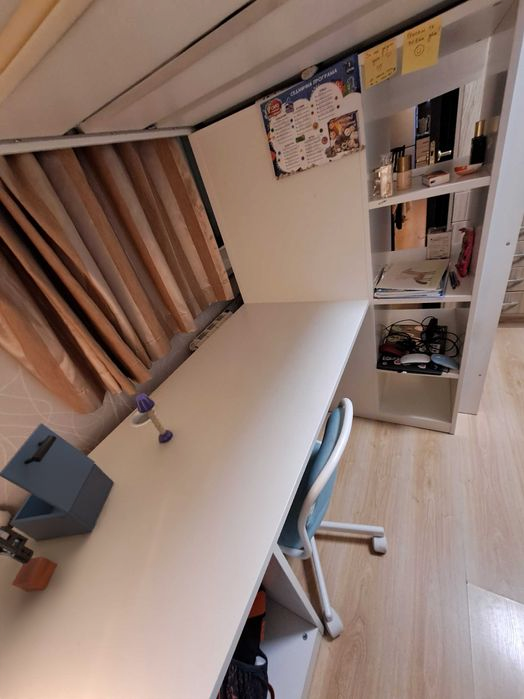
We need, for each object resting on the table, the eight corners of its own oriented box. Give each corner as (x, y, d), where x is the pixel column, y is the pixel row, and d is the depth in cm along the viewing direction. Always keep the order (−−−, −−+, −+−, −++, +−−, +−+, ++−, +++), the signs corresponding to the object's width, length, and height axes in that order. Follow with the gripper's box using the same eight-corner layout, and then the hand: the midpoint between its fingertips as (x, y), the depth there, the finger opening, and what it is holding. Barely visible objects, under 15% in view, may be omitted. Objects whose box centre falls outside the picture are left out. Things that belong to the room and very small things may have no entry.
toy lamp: (163, 430, 90) (136, 392, 81) (176, 429, 89) (150, 390, 80) (157, 443, 86) (128, 404, 77) (170, 442, 85) (142, 403, 76)
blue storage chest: (35, 540, 71) (9, 524, 66) (64, 491, 81) (43, 473, 76) (91, 532, 68) (68, 514, 64) (113, 482, 79) (95, 463, 74)
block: (26, 592, 61) (11, 584, 59) (40, 567, 65) (25, 558, 62) (44, 589, 60) (29, 582, 58) (57, 564, 64) (43, 556, 62)
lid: (-3, 475, 55) (16, 467, 54) (39, 424, 66) (55, 416, 64) (65, 513, 63) (82, 507, 62) (93, 462, 74) (108, 457, 73)
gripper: (-9, 494, 51) (53, 535, 60) (-72, 507, 53) (-4, 544, 62) (-45, 541, 45) (29, 579, 54) (-116, 553, 47) (-33, 588, 56)
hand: (11, 561), depth 58 cm, fingers open, 8 cm apart
